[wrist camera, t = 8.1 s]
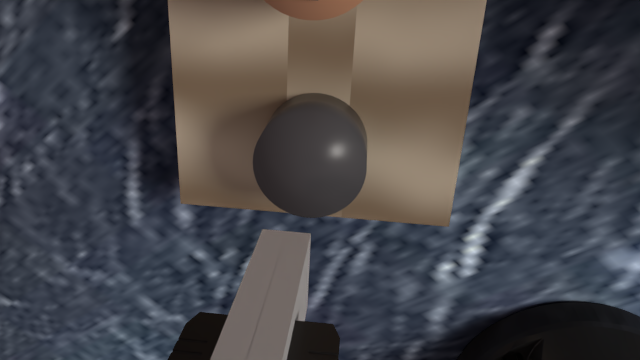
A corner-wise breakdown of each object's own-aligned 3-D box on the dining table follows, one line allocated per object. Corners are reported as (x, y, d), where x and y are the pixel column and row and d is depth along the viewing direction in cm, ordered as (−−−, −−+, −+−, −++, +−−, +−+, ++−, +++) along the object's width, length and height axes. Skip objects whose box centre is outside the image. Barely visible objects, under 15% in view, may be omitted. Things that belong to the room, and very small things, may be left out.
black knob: (364, 163, 31) (361, 222, 24) (277, 156, 31) (252, 212, 25) (372, 77, 29) (371, 116, 22) (279, 70, 29) (252, 107, 23)
